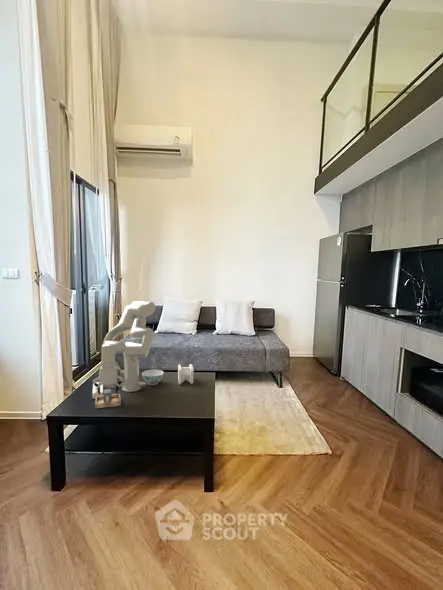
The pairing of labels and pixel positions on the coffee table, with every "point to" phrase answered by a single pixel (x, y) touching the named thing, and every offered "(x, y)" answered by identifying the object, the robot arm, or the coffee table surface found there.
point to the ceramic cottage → (119, 373)
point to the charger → (107, 395)
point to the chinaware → (152, 376)
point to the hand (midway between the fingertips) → (108, 392)
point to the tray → (114, 402)
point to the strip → (95, 391)
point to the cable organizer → (185, 373)
